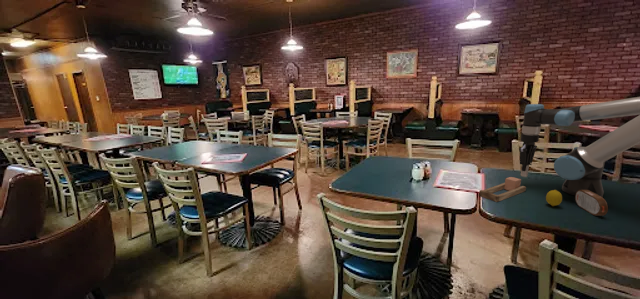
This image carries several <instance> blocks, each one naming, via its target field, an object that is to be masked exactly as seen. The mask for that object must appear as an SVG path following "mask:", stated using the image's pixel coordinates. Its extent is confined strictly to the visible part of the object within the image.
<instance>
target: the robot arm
mask: <svg viewBox="0 0 640 299" xmlns="http://www.w3.org/2000/svg"><path fill="white" fill-rule="evenodd" d="M637 115H638V116H637ZM631 116H636V117H634V118H632V119H631V120H629V121H627V122H626V123H624V124H622V125H620V126H619V127H617V128H616V129H614V130H613V131H611V132H609V133H606V135H603V136H602V137H600V138H599V139H597V140H596V141H593V142H592V143H591V144H589V145H587V146H575V147H574V148H573V150H571V151H569V152H568V153H567V154H565V155H561V156H559V157H558V158H556V159H555V161H554V163H553V169H554V172H555V173H556V174H557V175H558V177H560V178H562V179H564V182H563V183H562V185H561V191H562V192H564V193H566V194H569V195H572V196H575V195H576V192H577V191H578V190H589V191H591V192H593V193H595V194H597V195H599V196H601V197H602V198H603V197H604V193H605V191H604V188H603V184H602V183H603V182H602V176H603V172H604V167H605V163H606V162H607V161H608V160H610V159H612V158H614V157H616V156H617V155H620V154H622V153H623V152H626V151H627V150H629V149H631V148H633V147H635V146H637V145H639V144H640V96H637V97H636V96H635V97H629V98H624V99H616V100H610V101H604V102H598V103H597V102H596V103H589V104H584V105H578V106H571V107H565V108H558V109H552V108H545V105H544V104H541V103H532V104H531V103H529V104H526V105H525V109H524V112H523V122H522V127H521V135H520V141H521V142H522V146H521V147H519V148H518V149H519V165H521V170H520V175H519V176H521V177H523V178H527V177H528V175H529V168H530V166H532V165H533V164H532V163H533V160H534V157H535V153H536V150H537V147H538V145H536V143H538V142H539V140H540V134H541V129H542V125H543V124H544V125H552V126H558V127H559V126H560V127H563V126H564V127H570V126H571V125H572V124H573V123H577V122H585V121H593V120H603V119H613V118H620V117H621V118H622V117H631Z"/></svg>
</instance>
